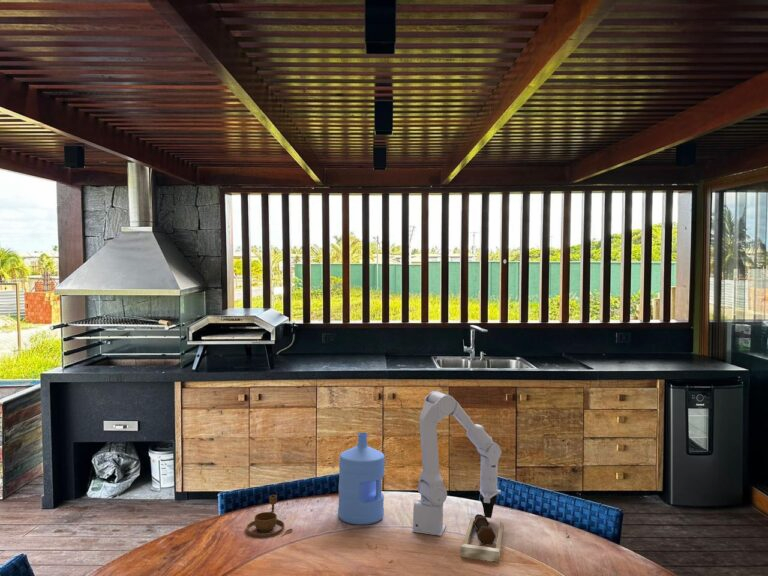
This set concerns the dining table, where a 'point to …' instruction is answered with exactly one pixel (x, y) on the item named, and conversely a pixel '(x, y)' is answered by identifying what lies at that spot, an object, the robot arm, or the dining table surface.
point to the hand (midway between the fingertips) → (488, 517)
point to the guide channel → (481, 551)
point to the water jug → (361, 484)
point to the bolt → (484, 530)
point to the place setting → (267, 522)
